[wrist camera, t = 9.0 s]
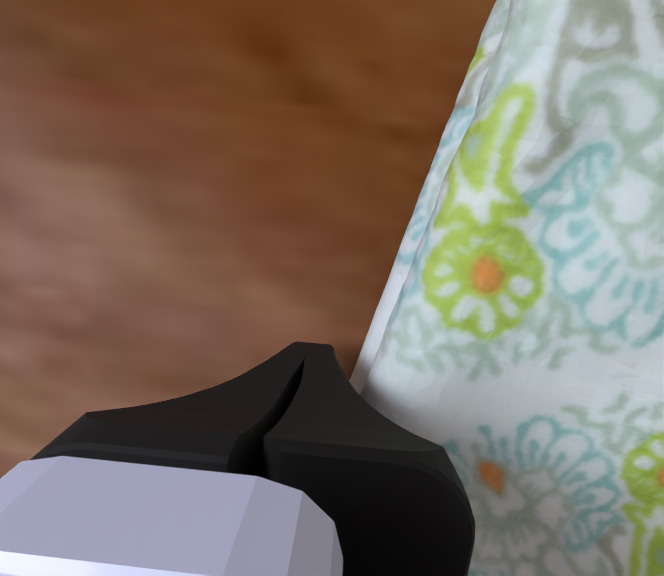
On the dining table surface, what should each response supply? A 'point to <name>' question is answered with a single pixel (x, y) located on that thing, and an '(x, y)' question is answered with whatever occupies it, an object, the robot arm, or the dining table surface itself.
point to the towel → (542, 293)
